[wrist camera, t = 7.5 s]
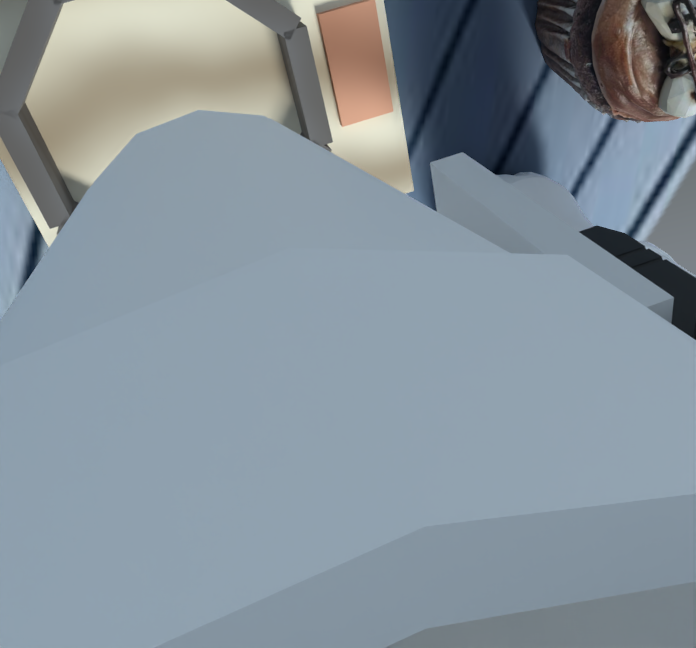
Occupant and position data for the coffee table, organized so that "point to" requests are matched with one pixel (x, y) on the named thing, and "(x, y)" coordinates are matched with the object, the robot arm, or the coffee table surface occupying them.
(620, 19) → the cupcake
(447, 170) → the robot arm
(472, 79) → the coffee table surface
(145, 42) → the socket board
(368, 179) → the foam cup
